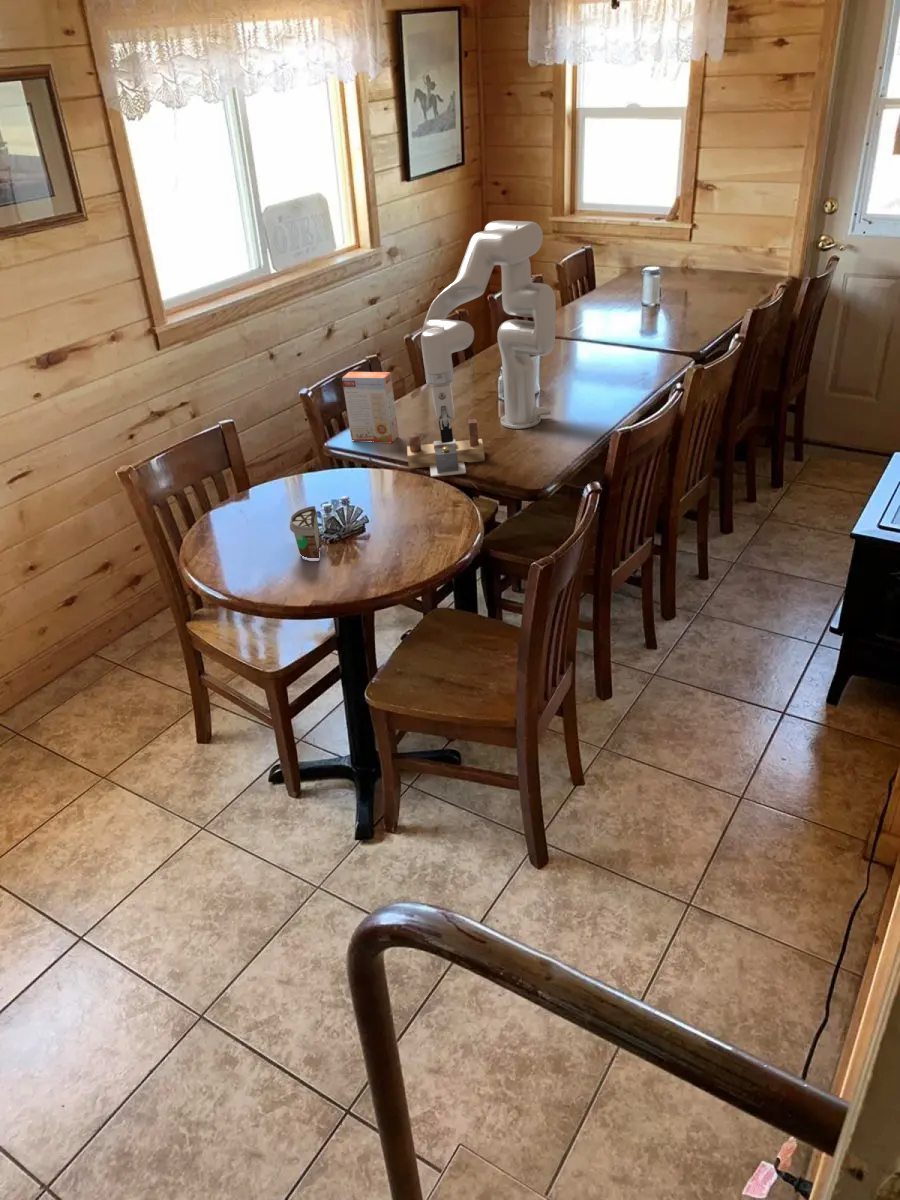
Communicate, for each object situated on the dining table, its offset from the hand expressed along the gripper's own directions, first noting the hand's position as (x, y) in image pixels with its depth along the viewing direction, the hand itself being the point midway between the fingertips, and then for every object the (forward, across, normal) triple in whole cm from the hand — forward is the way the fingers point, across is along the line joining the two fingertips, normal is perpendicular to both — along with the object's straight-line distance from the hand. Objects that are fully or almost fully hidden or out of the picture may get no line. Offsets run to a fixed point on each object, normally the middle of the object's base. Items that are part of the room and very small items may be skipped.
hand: (446, 434), depth 251 cm
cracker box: (+11, +28, +22) cm, 38 cm away
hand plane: (+11, +6, +1) cm, 12 cm away
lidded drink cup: (+8, -42, +38) cm, 57 cm away
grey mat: (+10, -1, +1) cm, 10 cm away
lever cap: (+10, -1, +1) cm, 10 cm away
